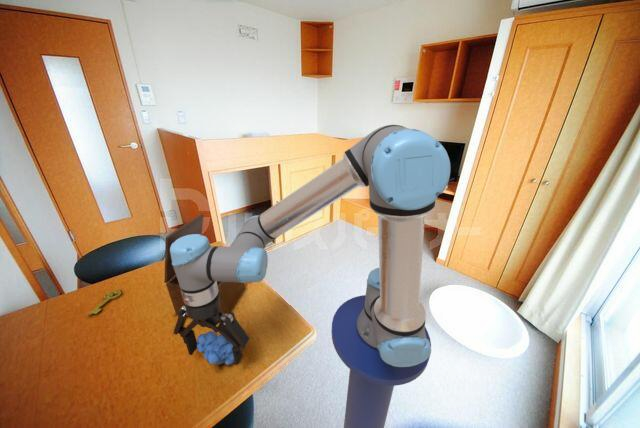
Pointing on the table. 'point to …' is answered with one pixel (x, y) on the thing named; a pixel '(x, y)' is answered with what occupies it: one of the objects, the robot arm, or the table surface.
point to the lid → (187, 229)
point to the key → (108, 298)
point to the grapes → (215, 348)
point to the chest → (226, 291)
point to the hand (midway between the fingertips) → (216, 355)
